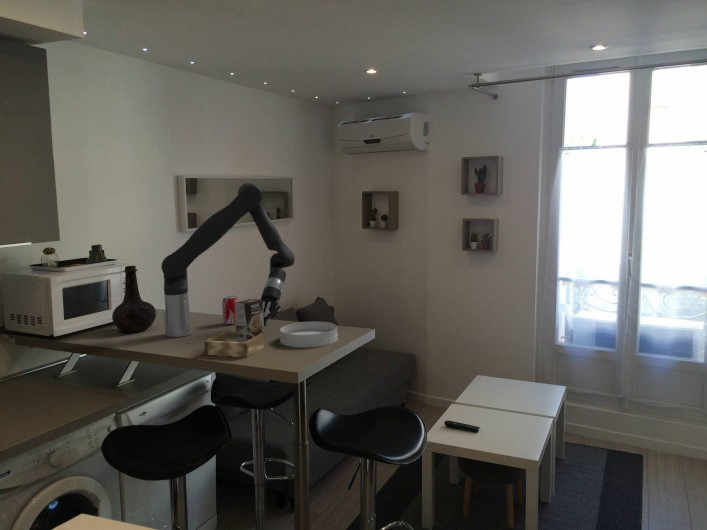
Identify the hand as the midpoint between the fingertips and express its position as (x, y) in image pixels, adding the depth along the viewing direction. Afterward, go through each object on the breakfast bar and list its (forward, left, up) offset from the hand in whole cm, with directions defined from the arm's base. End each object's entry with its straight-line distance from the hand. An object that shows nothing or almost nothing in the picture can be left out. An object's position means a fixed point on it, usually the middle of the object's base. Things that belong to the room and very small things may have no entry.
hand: (261, 326), depth 221 cm
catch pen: (0, -22, -4) cm, 22 cm away
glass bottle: (-61, +2, -4) cm, 61 cm away
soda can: (-24, +19, -4) cm, 31 cm away
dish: (+21, -3, -4) cm, 22 cm away
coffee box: (0, -10, -4) cm, 11 cm away
